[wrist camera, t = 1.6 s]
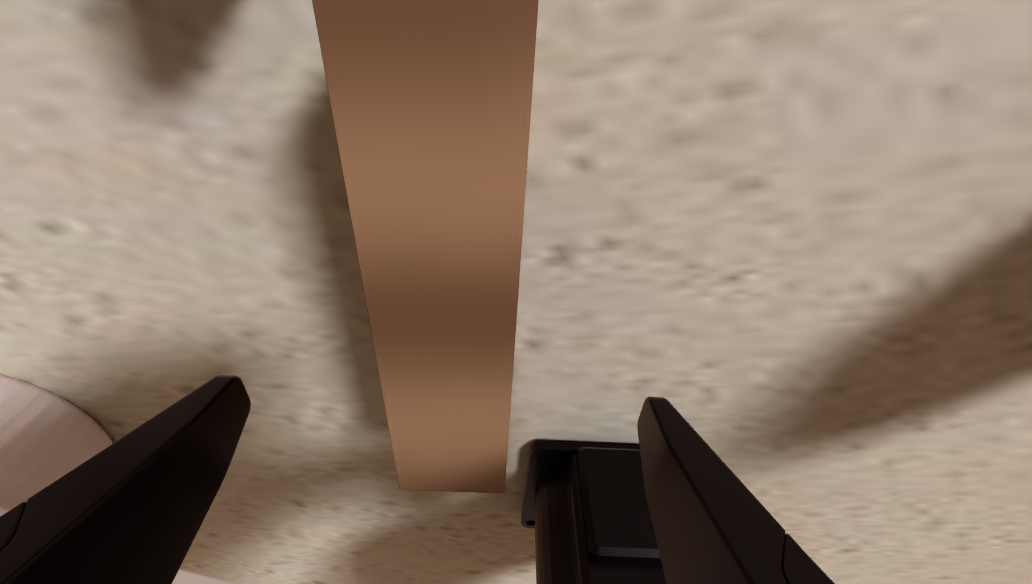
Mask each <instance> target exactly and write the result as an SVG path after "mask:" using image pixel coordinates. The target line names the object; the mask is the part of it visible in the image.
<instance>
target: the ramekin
mask: <svg viewBox="0 0 1032 584" xmlns="http://www.w3.org/2000/svg"><path fill="white" fill-rule="evenodd" d="M111 444H113V442H112V441H111V439H110V437H109V436H108V435H107V433H106V432H105V431H104V430H103V429H102V427H101V426H100V425H99V424H97V423H96V422H95V421H94V420H93V419H92V418H91V417H90V416H88V415H87V414H86V413H84V412H83V411H82V410H80V409H79V408H77V407H76V406H74V405H73V404H71V403H70V402H68V401H66V400H64V399H63V398H61V397H59V396H57V395H55V394H53V393H51V392H49V391H47V390H44V389H42V388H40V387H37V386H35V385H32V384H30V383H27V382H24V381H21V380H18V379H15V378H12V377H8V376H5V375H1V374H0V516H2V515H3V514H5V513H6V512H8V511H9V510H11V509H13V508H14V507H16V506H17V505H19V504H20V503H22V502H27V500H28V498H30V497H31V496H33V495H34V494H36V493H37V492H39V491H40V490H42V489H44V488H45V487H47V486H48V485H50V484H51V483H53V482H54V481H56V480H57V479H59V478H61V477H62V476H64V475H65V474H67V473H68V472H70V471H71V470H73V469H74V468H76V467H78V466H79V465H81V464H82V463H84V462H85V461H87V460H88V459H90V458H91V457H93V456H94V455H96V454H98V453H99V452H101V451H102V450H104V449H105V448H107V447H108V446H110V445H111Z"/></svg>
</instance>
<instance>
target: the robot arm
mask: <svg viewBox="0 0 1032 584" xmlns="http://www.w3.org/2000/svg"><path fill="white" fill-rule="evenodd" d="M250 407H251V403H250V399H249V396H248V394H247V391H246V389H245V387H244V384H243V382H242V380H241V378H239V377H238V376H228V375H220V376H217V377H215V378H213V379H212V380H210V381H209V382H207V383H205V384H204V385H202V386H201V387H199V388H198V389H196V390H195V391H193V392H192V393H190V394H188V395H187V396H185V397H184V398H182V399H181V400H179V401H178V402H176V403H175V404H173V405H172V406H170V407H168V408H167V409H165V410H164V411H162V412H161V413H159V414H158V415H156V416H155V417H153V418H151V419H150V420H148V421H147V422H145V423H144V424H142V425H141V426H139V427H138V428H136V429H135V430H133V431H131V432H130V433H128V434H127V435H125V436H124V437H122V438H121V439H119V440H118V441H116V442H115V443H113V444H111V445H110V446H108V447H107V448H105V449H104V450H102V451H101V452H99V453H98V454H96V455H94V456H93V457H91V458H90V459H88V460H87V461H85V462H84V463H82V464H81V465H79V466H78V467H76V468H74V469H73V470H71V471H70V472H68V473H67V474H65V475H64V476H62V477H61V478H59V479H57V480H56V481H54V482H53V483H51V484H50V485H48V486H47V487H45V488H44V489H42V490H40V491H39V492H37V493H36V494H34V495H33V496H31V497H30V498H28V500H27V502H22V503H20V504H19V505H17V506H16V507H14V508H13V509H11V510H9V511H8V512H6V513H5V514H3V515H2V516H0V584H172V582H173V580H174V578H175V576H176V574H177V572H178V570H179V568H180V566H181V564H182V562H183V560H184V558H185V556H186V554H187V552H188V550H189V548H190V546H191V544H192V542H193V540H194V538H195V536H196V534H197V532H198V530H199V528H200V526H201V524H202V522H203V520H204V518H205V516H206V514H207V512H208V510H209V508H210V506H211V504H212V502H213V500H214V498H215V496H216V494H217V492H218V490H219V488H220V486H221V484H222V482H223V480H224V477H225V475H226V473H227V470H228V468H229V465H230V463H231V460H232V457H233V455H234V452H235V449H236V447H237V444H238V441H239V439H240V436H241V433H242V431H243V428H244V425H245V422H246V420H247V417H248V414H249V412H250ZM638 437H639V445H622V444H600V443H579V442H557V441H538V442H535V443H533V444H532V445H531V447H530V454H529V461H528V468H527V476H526V483H525V490H524V498H523V505H522V513H521V524H522V525H523V526H524V527H527V528H535V544H536V582H537V584H835V583H834V582H833V581H832V580H831V579H830V578H829V577H828V576H827V575H826V574H825V573H824V572H823V571H822V570H821V569H820V568H819V567H818V566H817V565H816V563H815V562H814V561H813V560H812V559H811V558H810V557H809V556H808V555H807V554H806V553H805V552H804V551H803V550H802V548H801V547H800V546H799V545H798V544H797V543H796V542H795V541H794V540H793V538H792V537H791V536H790V535H789V534H785V530H784V529H783V528H782V526H781V525H780V524H779V523H778V522H777V521H776V520H775V519H774V518H773V516H772V515H771V514H770V513H769V512H768V511H767V510H766V509H765V508H764V507H763V505H762V504H761V503H760V502H759V501H758V500H757V499H756V498H755V497H754V495H753V494H752V493H751V492H750V491H749V490H748V489H747V488H746V487H745V485H744V484H743V483H742V482H741V481H740V480H739V479H738V478H737V477H736V475H735V474H734V473H733V472H732V471H731V470H730V469H729V468H728V467H727V466H726V464H725V463H724V462H723V461H722V460H721V459H720V458H719V457H718V456H717V454H716V453H715V452H714V451H713V450H712V449H711V448H710V447H709V446H708V444H707V443H706V442H705V441H704V440H703V439H702V438H701V437H700V436H699V434H698V433H697V432H696V431H695V430H694V429H693V428H692V427H691V426H690V425H689V423H688V422H687V421H686V420H685V419H684V418H683V417H682V416H681V415H680V413H679V412H678V411H677V410H676V409H675V408H674V407H673V406H672V405H671V403H670V402H669V401H668V400H667V399H665V398H662V397H647V398H646V399H645V401H644V404H643V407H642V410H641V413H640V416H639V419H638Z"/></svg>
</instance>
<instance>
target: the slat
mask: <svg viewBox="0 0 1032 584" xmlns="http://www.w3.org/2000/svg"><path fill="white" fill-rule="evenodd" d="M312 2H313V8H314V13H315V19H316V25H317V30H318V36H319V41H320V47H321V53H322V58H323V64H324V69H325V75H326V80H327V86H328V92H329V97H330V103H331V108H332V114H333V120H334V125H335V131H336V136H337V142H338V147H339V153H340V159H341V164H342V170H343V175H344V181H345V187H346V192H347V198H348V203H349V209H350V215H351V220H352V226H353V231H354V237H355V242H356V248H357V254H358V259H359V265H360V270H361V276H362V282H363V287H364V293H365V298H366V304H367V310H368V315H369V321H370V326H371V332H372V337H373V343H374V349H375V354H376V360H377V365H378V371H379V377H380V382H381V388H382V393H383V399H384V405H385V410H386V416H387V421H388V427H389V432H390V438H391V444H392V449H393V455H394V460H395V466H396V472H397V477H398V483H399V488H400V490H423V491H451V492H479V493H504V492H505V477H506V463H507V448H508V434H509V419H510V405H511V390H512V376H513V361H514V347H515V332H516V318H517V303H518V289H519V274H520V260H521V245H522V231H523V216H524V202H525V187H526V173H527V158H528V144H529V130H530V115H531V101H532V86H533V72H534V57H535V43H536V28H537V14H538V0H312Z"/></svg>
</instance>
